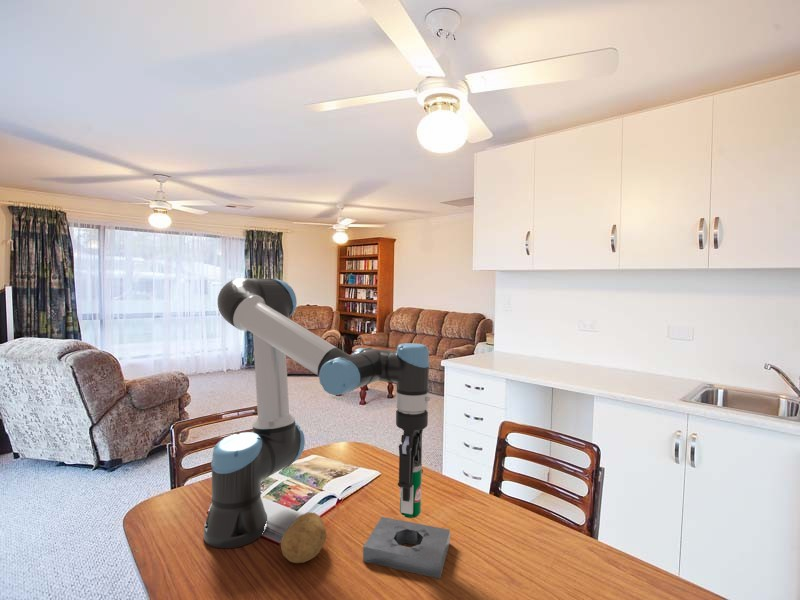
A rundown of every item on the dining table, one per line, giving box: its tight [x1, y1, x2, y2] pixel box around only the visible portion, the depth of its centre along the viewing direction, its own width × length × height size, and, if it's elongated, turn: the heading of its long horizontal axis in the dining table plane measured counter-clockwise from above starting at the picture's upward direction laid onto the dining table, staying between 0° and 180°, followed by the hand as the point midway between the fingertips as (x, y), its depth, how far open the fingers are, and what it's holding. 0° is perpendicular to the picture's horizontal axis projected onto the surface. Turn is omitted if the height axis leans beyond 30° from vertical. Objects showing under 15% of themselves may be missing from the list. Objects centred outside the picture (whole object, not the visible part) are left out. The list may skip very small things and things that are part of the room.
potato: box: [280, 512, 327, 564], centre depth 97 cm, size 10×14×8 cm
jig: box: [362, 516, 451, 579], centre depth 99 cm, size 18×13×4 cm
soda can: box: [399, 460, 423, 519], centre depth 98 cm, size 5×5×12 cm
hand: (410, 506), depth 99 cm, fingers closed on soda can, 5 cm apart
